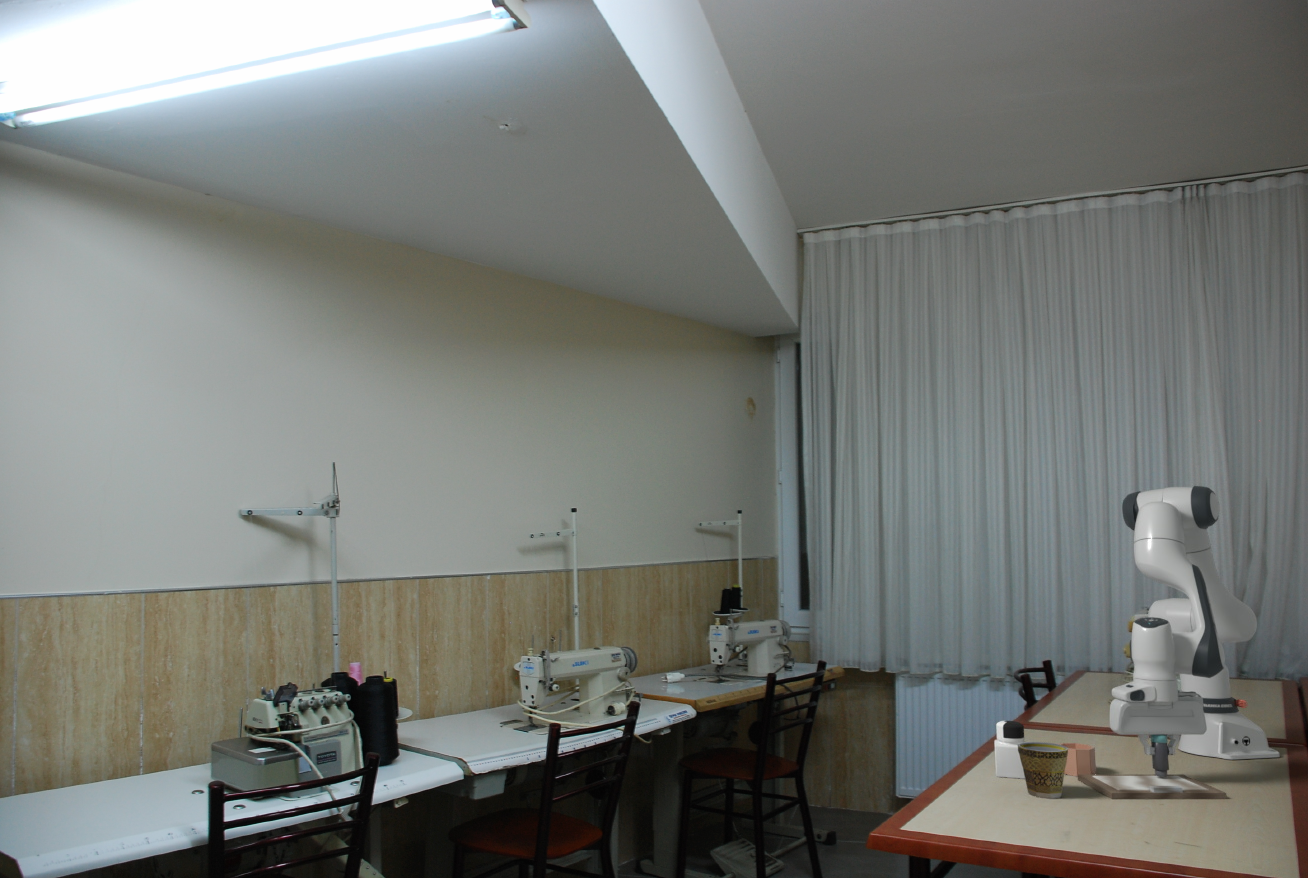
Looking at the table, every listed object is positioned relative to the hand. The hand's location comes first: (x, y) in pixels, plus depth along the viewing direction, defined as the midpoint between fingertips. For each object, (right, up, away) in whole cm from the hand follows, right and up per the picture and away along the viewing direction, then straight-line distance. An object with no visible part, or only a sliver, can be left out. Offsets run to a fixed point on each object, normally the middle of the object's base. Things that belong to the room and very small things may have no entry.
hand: (1159, 754), depth 207 cm
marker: (0, -5, -1) cm, 4 cm away
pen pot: (-14, -8, +10) cm, 19 cm away
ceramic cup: (-30, -6, -7) cm, 31 cm away
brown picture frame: (-5, -6, -5) cm, 9 cm away
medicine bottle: (-30, -8, +8) cm, 32 cm away
